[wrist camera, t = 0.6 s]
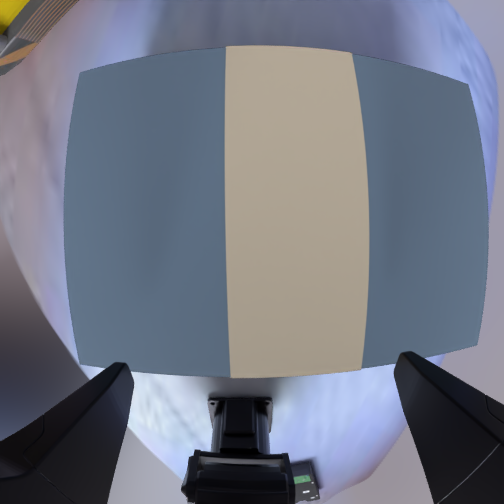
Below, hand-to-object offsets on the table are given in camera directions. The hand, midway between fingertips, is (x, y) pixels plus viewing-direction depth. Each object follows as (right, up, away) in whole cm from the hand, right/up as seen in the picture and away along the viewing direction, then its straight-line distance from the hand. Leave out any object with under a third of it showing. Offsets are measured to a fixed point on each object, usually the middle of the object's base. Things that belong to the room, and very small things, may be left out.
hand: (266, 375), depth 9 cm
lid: (+1, +6, +2) cm, 6 cm away
